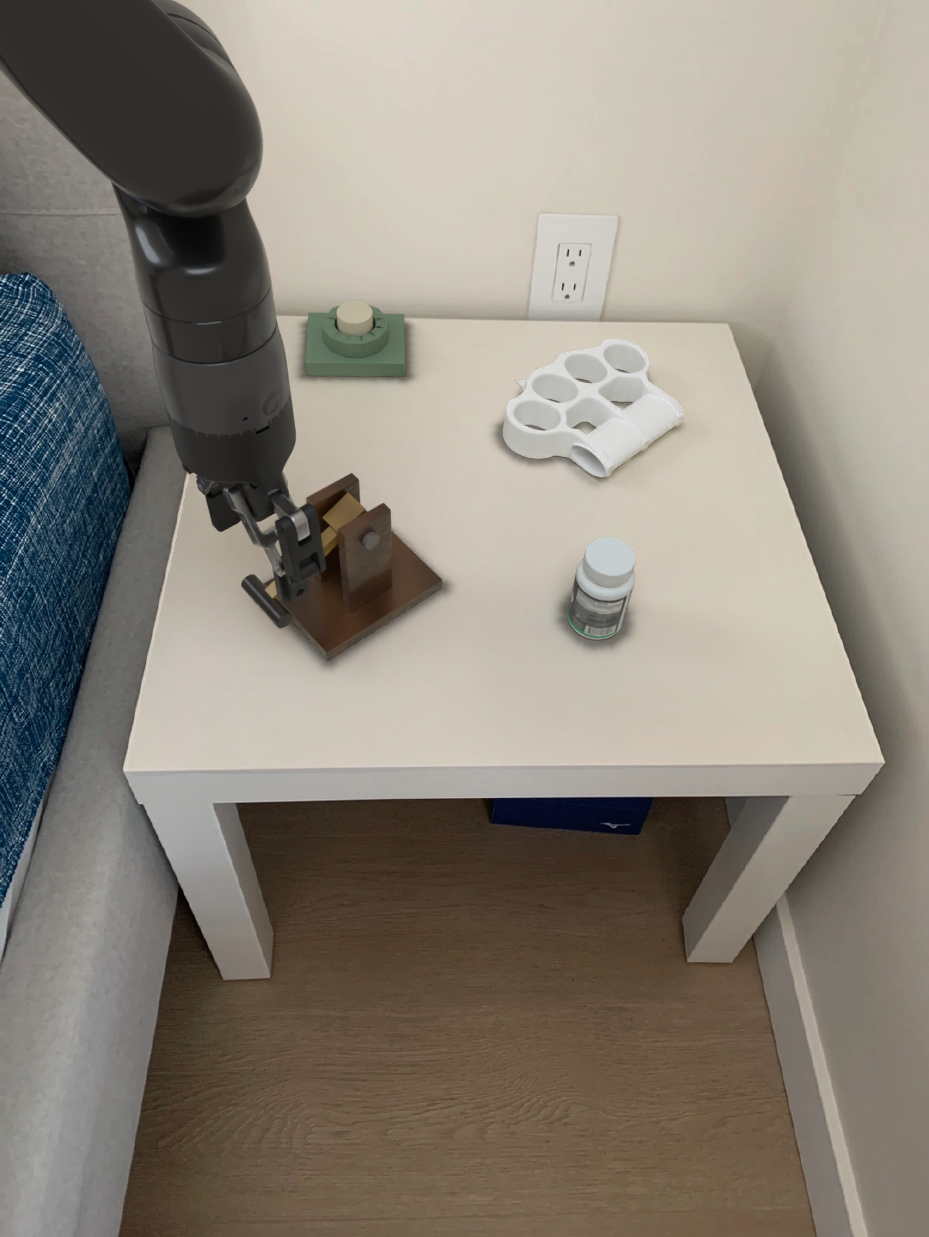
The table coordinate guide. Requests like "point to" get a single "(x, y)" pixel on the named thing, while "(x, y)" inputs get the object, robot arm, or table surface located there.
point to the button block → (355, 347)
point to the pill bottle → (602, 588)
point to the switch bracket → (359, 577)
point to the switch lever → (335, 518)
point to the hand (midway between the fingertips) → (260, 559)
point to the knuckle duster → (590, 408)
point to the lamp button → (354, 318)
